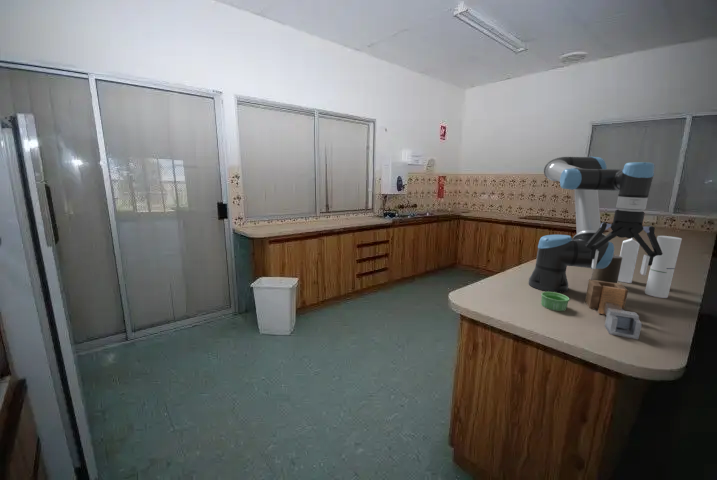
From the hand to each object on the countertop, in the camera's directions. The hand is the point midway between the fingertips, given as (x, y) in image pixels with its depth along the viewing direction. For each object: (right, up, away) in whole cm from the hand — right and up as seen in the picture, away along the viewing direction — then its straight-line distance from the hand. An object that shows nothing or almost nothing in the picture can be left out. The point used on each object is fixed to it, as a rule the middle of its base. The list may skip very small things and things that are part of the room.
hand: (617, 271), depth 107 cm
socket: (+3, -15, +10) cm, 18 cm away
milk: (+39, -9, +43) cm, 58 cm away
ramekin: (-16, -15, +9) cm, 24 cm away
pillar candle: (+25, -10, +37) cm, 46 cm away
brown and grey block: (-2, -16, 0) cm, 17 cm away
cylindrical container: (+37, -13, +25) cm, 47 cm away
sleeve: (-7, -18, -10) cm, 22 cm away
